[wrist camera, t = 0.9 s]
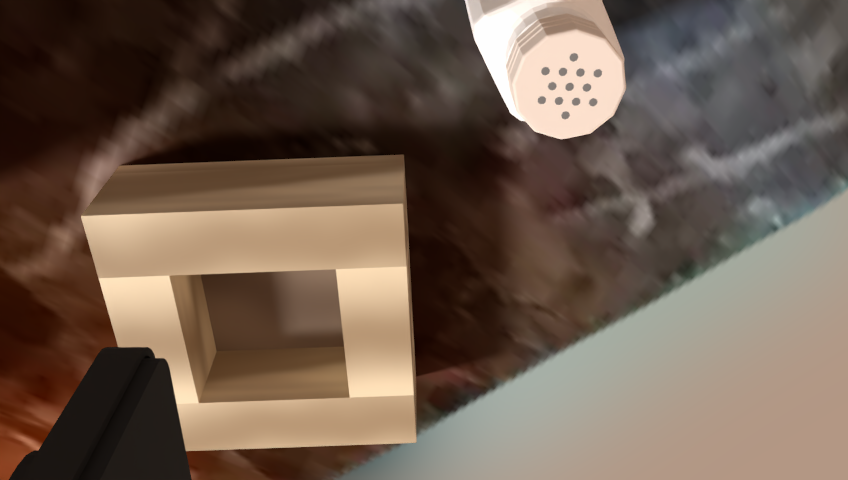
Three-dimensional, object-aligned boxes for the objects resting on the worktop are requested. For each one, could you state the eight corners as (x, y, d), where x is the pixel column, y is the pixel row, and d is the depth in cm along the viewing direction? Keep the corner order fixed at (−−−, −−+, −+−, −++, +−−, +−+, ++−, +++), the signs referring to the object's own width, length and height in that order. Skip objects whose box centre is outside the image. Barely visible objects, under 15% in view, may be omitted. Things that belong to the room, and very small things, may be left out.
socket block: (119, 165, 33) (80, 216, 30) (404, 154, 33) (402, 203, 29) (174, 386, 39) (148, 452, 36) (415, 377, 39) (416, 442, 35)
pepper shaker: (501, 73, 32) (532, 174, 23) (456, -19, 30) (473, 56, 22) (594, 27, 31) (661, 115, 23) (554, -71, 29) (611, -13, 21)
